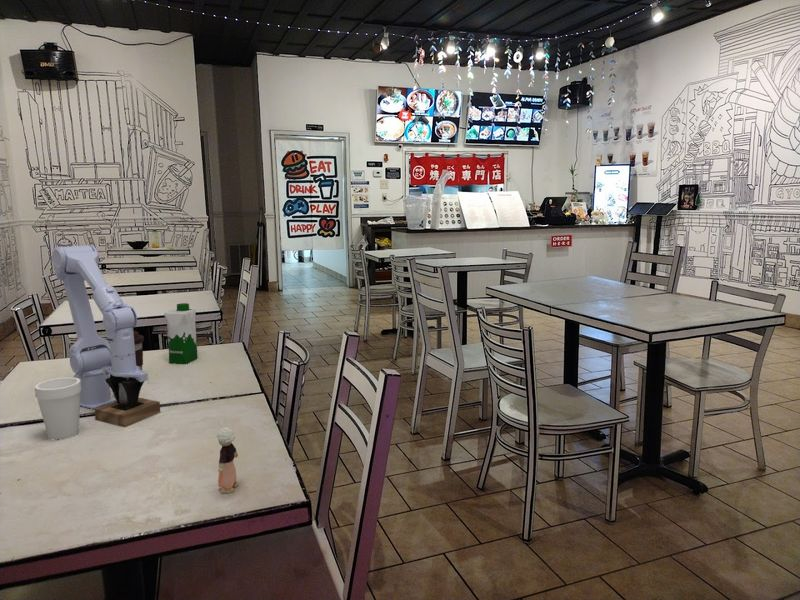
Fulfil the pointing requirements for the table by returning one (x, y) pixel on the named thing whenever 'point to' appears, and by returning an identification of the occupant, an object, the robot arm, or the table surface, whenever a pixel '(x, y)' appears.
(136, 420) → the square wooden ring
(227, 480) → the grandmother figurine
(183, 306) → the milk carton
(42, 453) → the table surface
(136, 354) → the coffee cup
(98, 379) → the robot arm
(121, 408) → the round peg
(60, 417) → the foam cup
